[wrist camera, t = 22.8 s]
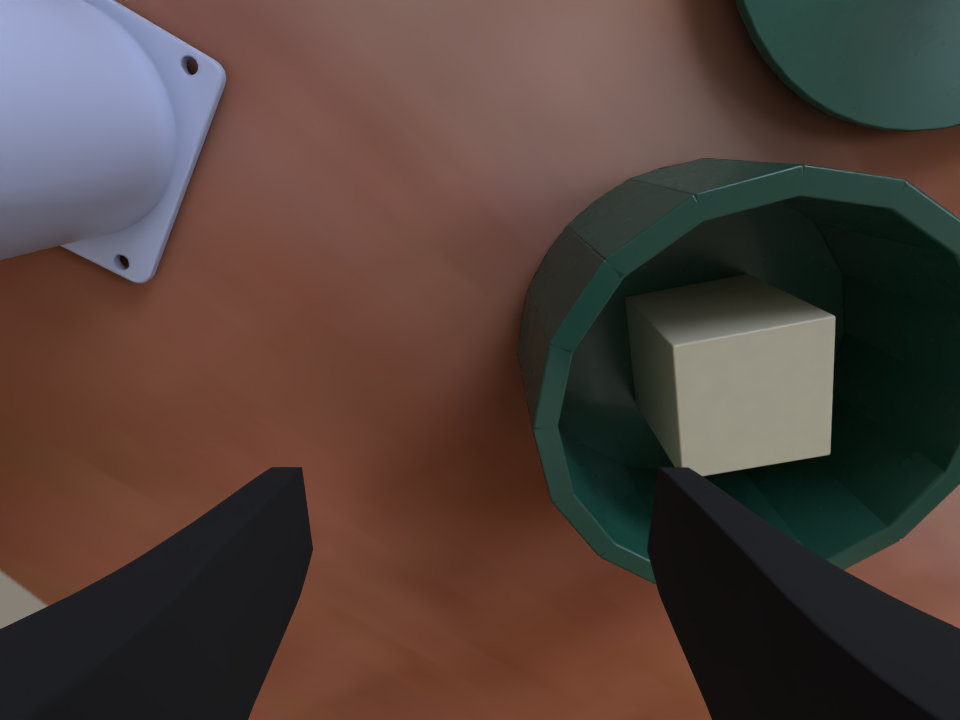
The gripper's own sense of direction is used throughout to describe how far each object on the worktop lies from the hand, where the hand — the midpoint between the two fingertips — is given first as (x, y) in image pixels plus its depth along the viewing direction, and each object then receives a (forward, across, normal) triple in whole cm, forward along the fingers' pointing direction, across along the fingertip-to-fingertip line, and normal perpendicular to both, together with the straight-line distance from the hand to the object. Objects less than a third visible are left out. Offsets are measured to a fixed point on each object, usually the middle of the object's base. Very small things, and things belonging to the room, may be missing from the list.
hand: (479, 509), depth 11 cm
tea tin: (+10, -8, 0) cm, 13 cm away
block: (+10, -8, 0) cm, 13 cm away
